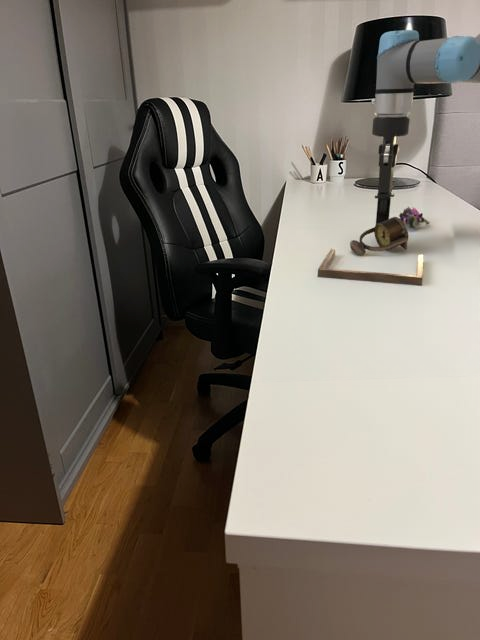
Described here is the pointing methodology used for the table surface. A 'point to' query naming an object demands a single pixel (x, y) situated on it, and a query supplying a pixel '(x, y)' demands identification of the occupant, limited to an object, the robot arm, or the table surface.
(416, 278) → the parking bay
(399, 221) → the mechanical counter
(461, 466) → the table surface
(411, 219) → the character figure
